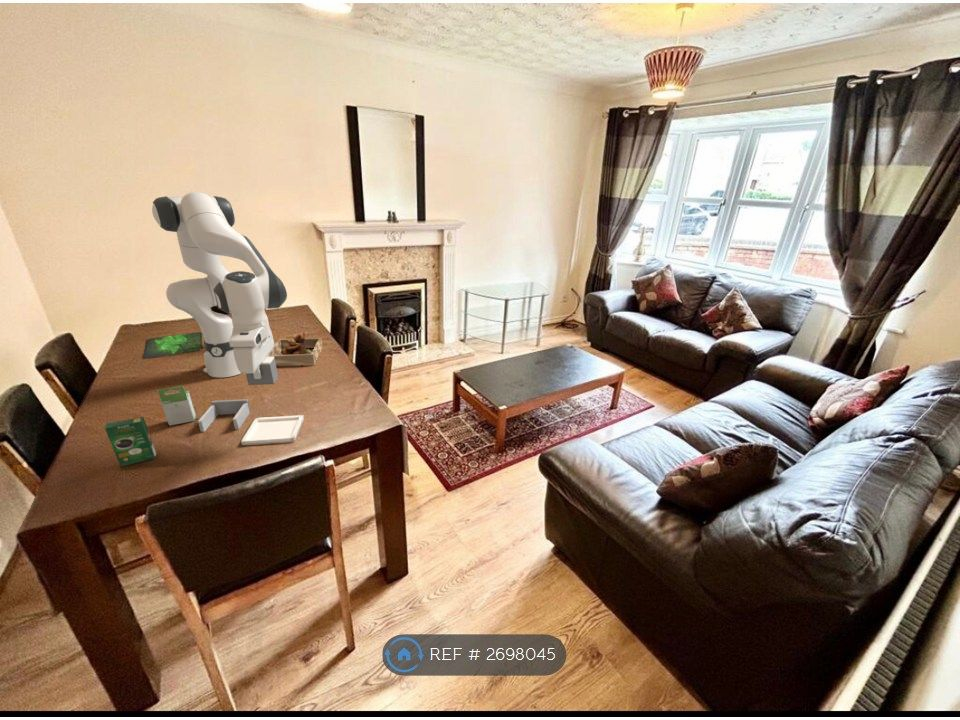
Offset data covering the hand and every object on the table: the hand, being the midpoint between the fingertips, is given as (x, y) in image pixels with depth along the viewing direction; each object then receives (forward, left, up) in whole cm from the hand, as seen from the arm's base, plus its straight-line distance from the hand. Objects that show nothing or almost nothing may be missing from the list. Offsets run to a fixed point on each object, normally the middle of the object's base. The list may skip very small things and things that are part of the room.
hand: (262, 373), depth 115 cm
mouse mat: (-79, -66, -22) cm, 105 cm away
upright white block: (0, 0, -3) cm, 3 cm away
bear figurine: (-58, -7, -22) cm, 63 cm away
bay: (-8, -17, -21) cm, 28 cm away
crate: (-60, -7, -21) cm, 64 cm away
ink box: (-10, -31, -21) cm, 39 cm away
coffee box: (+10, -33, -21) cm, 41 cm away
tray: (0, 0, -21) cm, 21 cm away
